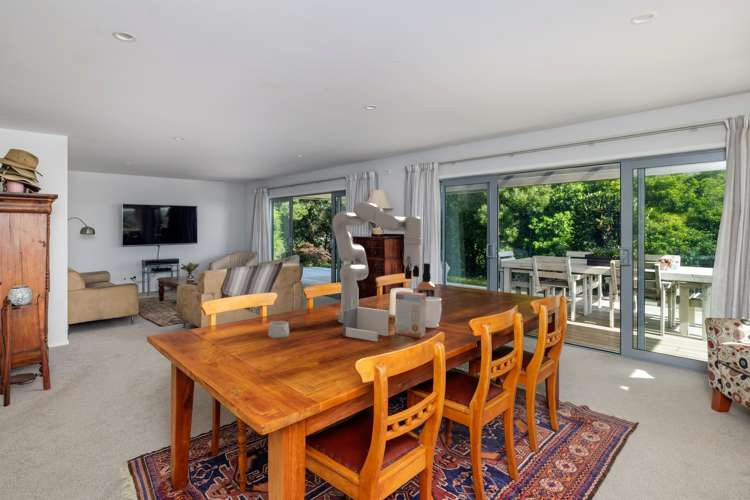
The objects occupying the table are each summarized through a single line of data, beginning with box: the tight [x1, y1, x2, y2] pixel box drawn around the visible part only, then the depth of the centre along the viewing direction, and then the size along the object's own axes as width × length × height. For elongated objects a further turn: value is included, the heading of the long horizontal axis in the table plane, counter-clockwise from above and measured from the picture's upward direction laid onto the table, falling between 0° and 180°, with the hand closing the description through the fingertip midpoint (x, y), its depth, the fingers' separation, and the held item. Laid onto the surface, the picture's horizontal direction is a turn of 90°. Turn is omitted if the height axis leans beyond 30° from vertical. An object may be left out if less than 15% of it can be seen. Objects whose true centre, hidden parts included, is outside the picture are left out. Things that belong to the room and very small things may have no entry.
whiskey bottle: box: [416, 262, 436, 297], centre depth 229 cm, size 10×10×32 cm
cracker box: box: [394, 290, 426, 339], centre depth 196 cm, size 14×6×21 cm, turn 59°
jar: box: [425, 296, 442, 329], centre depth 214 cm, size 11×10×15 cm
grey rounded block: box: [267, 320, 290, 339], centre depth 190 cm, size 12×10×6 cm
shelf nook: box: [342, 306, 389, 342], centre depth 194 cm, size 18×12×12 cm, turn 63°
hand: (412, 277), depth 194 cm, fingers open, 9 cm apart
